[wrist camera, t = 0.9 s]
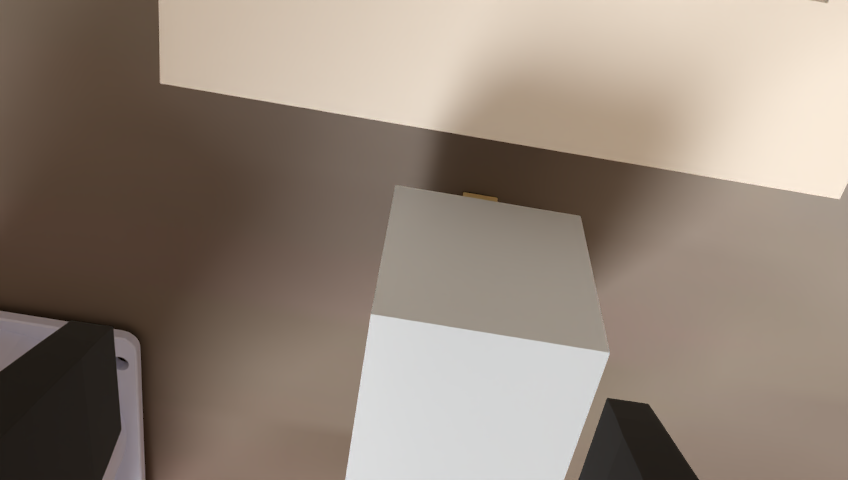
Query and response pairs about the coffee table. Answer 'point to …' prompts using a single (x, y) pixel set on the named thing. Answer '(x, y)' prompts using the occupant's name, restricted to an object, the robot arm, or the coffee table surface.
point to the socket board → (550, 74)
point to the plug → (477, 343)
